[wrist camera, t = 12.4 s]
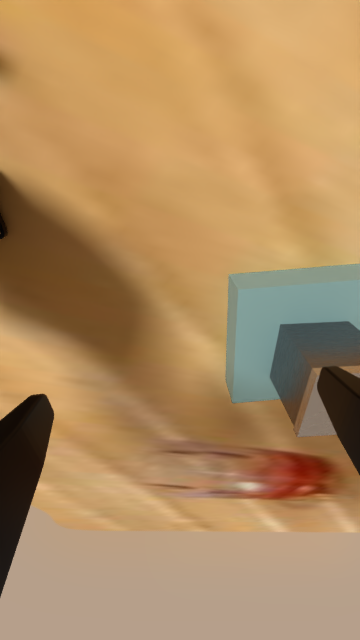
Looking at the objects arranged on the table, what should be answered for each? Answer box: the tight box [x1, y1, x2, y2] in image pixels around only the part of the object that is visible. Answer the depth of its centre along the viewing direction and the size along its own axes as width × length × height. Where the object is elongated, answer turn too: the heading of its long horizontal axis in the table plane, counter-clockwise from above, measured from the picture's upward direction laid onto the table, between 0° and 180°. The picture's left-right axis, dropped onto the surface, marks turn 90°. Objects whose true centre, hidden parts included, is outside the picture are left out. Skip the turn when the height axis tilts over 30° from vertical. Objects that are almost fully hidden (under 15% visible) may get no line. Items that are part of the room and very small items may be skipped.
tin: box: [270, 321, 360, 437], centre depth 19 cm, size 5×5×6 cm
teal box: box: [226, 264, 360, 403], centre depth 22 cm, size 11×11×4 cm
